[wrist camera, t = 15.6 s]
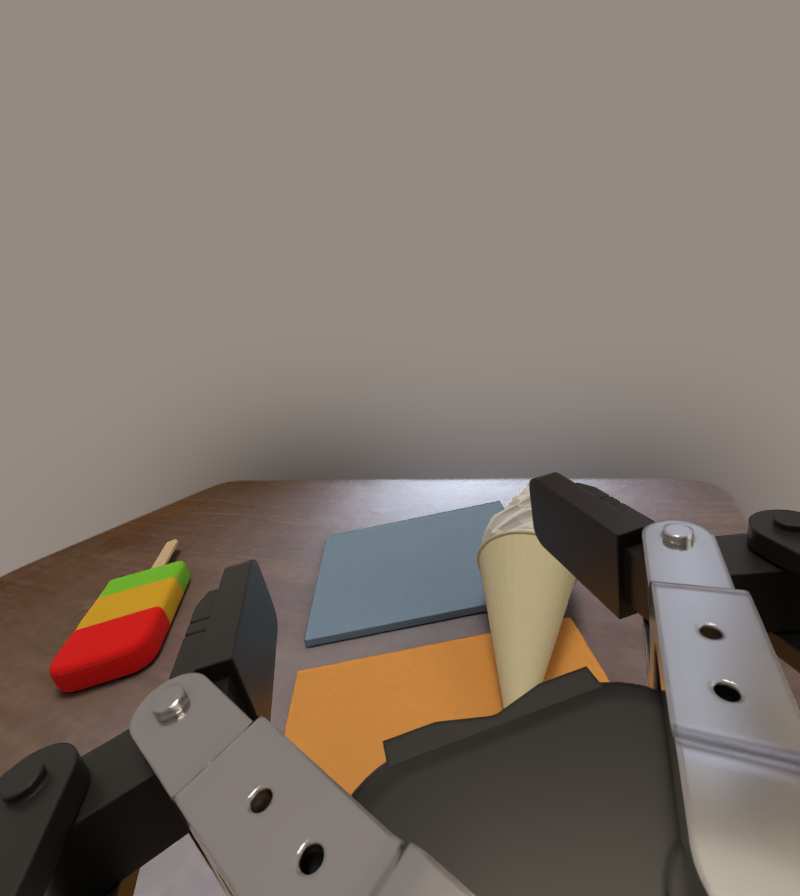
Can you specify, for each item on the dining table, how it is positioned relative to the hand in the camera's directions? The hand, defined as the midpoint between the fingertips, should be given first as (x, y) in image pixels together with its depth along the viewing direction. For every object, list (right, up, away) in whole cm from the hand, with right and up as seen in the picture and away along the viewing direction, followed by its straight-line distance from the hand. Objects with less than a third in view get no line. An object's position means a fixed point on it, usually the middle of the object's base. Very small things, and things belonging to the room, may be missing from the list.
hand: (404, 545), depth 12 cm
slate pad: (+1, -5, +17) cm, 17 cm away
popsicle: (-18, -9, +19) cm, 28 cm away
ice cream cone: (+4, -8, +3) cm, 9 cm away
